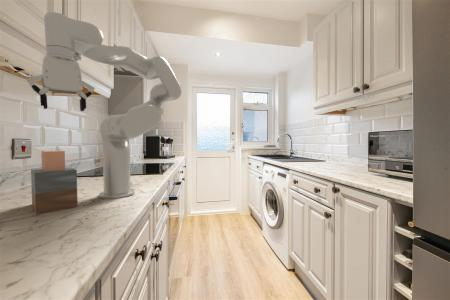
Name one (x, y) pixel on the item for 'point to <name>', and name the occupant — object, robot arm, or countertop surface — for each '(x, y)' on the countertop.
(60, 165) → the terracotta brick
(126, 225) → the countertop surface
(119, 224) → the countertop surface
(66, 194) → the shiny metal block
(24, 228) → the countertop surface
